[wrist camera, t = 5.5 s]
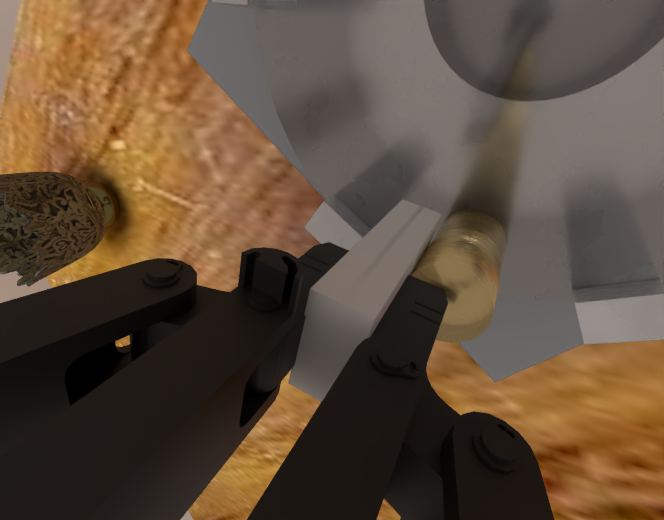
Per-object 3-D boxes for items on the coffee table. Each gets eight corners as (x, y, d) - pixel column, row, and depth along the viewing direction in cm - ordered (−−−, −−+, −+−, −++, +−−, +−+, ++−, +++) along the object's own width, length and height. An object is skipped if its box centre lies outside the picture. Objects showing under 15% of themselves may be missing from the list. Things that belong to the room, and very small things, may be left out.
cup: (141, 178, 28) (22, 208, 22) (141, 259, 32) (41, 305, 26) (71, 141, 30) (-58, 159, 24) (79, 222, 34) (-29, 257, 27)
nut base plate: (689, -1012, 8) (724, -1256, 6) (1562, -135, 7) (1801, -184, 6) (206, 52, 22) (184, 50, 20) (497, 364, 21) (494, 384, 20)
